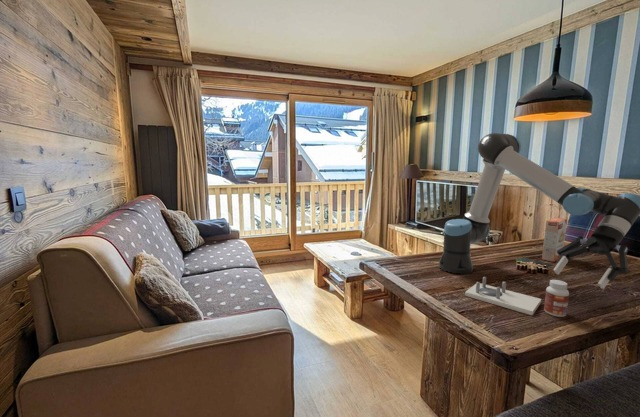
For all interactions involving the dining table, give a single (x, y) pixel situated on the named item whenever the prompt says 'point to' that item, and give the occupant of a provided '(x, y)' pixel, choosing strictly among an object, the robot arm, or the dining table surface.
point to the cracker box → (554, 238)
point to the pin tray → (503, 297)
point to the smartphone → (534, 261)
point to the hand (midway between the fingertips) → (576, 278)
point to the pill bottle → (556, 298)
